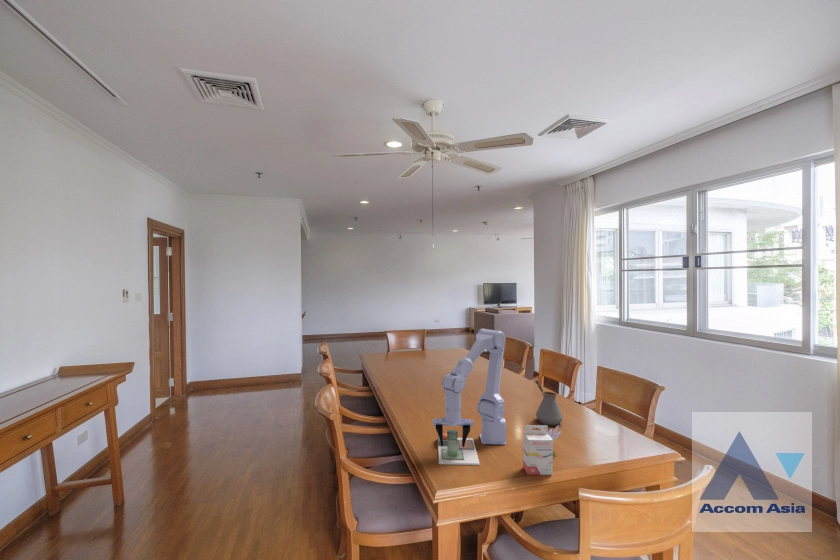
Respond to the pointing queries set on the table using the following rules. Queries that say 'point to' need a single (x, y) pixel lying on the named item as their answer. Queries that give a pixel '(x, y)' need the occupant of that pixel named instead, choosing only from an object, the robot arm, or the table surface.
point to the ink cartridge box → (537, 450)
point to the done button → (444, 436)
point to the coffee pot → (548, 408)
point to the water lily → (554, 435)
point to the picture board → (459, 453)
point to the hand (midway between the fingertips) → (452, 445)
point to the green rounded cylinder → (452, 442)
